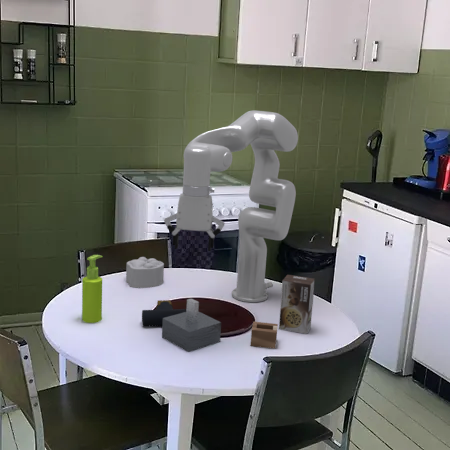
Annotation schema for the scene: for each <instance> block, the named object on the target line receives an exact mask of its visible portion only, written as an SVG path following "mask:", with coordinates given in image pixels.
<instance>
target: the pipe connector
mask: <svg viewBox="0 0 450 450" xmlns="http://www.w3.org/2000/svg"><path fill="white" fill-rule="evenodd" d="M186 310H187V308H177V309H176V308H174V306H173V303H172V302H171V300H170V299H168V300H167V299H165V300H164V299H163V300H161V299H160V300H157V303H156V306H155V309H142V312H141V324H142V327H147V328H148V327H149V326H150V327H162V324H163V318H165V317H169V316H173V315H176V314H180V313H183V312H186Z"/></svg>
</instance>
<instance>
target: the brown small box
mask: <svg viewBox="0 0 450 450" xmlns="http://www.w3.org/2000/svg"><path fill="white" fill-rule="evenodd" d="M278 325H279V323H271V322H262V321H253V323H252V327H251V332H250V343H249V344H250V347H254V348H255V347H256V348H257V347H258V348H265V349H274V350H275V349H276V346H277V337H278V329H279V326H278Z"/></svg>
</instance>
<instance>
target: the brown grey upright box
mask: <svg viewBox="0 0 450 450" xmlns="http://www.w3.org/2000/svg"><path fill="white" fill-rule="evenodd" d="M281 281H282V282H281V295H280V297H281V298H280V310H279V311H280V312H279V321H278V322H279V323H278V325H279V326H278V330H281V331H282V330H283V331H288V332H293V333H300V334H306V335H307V334H308V333H309V331H310V329H311V328H312V318H313V317H312V314H313V306H314V304H313V303H314V291H315V281H316V279H315V278H312V277H305V276H300V275H292V274H287V275H286V276H285V277H283V279H282V280H281Z"/></svg>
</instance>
